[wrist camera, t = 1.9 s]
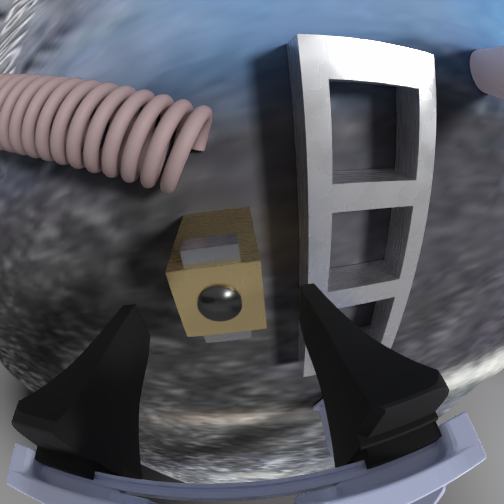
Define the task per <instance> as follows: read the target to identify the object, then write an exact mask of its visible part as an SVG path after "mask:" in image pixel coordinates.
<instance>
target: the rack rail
mask: <svg viewBox="0 0 504 504" xmlns="http://www.w3.org/2000/svg"><path fill="white" fill-rule="evenodd" d="M286 45H287V54H288V64H289V74H290V84H291V95H292V108H293V121H294V135H295V152H296V170H297V193H298V225H299V297H300V285H305V284H312V283H314V284H315V285H316V286H317V287H318V288H319V289H320V290H321V291H322V292H323V294H324V295H325V296H326V297H327V298H328V299H329V300H330V301H331V302H332V303H333V304H334V305H335V306H336V307H337V308H343V307H348V306H353V305H359V304H364V303H368V302H373V301H376V303H375V307H374V311H373V316H372V320H371V324H370V325H368V326H363V327H359V328H360V329H362V330H363V331H364V332H366V333H367V334H368V335H370V336H371V337H372V338H374V339H375V340H377V341H378V342H380V343H381V344H383V345H385V346H386V347H388V348H390V349H391V346H392V344H393V341H394V338H395V336H396V333H397V330H398V327H399V324H400V321H401V318H402V315H403V312H404V309H405V306H406V303H407V299H408V296H409V293H410V289H411V286H412V282H413V278H414V274H415V271H416V267H417V263H418V258H419V254H420V250H421V245H422V240H423V235H424V230H425V225H426V219H427V214H428V207H429V201H430V194H431V186H432V178H433V168H434V156H435V141H436V80H435V65H434V55H433V54H429V53H426V52H422V51H418V50H414V49H410V48H406V47H402V46H397V45H392V44H387V43H382V42H376V41H370V40H363V39H356V38H348V37H338V36H326V35H307V34H297V35H296V36H294V37H293V38H292V39H291V40H290V41H289V42H288V43H286ZM329 82H348V83H362V84H373V85H383V86H391V87H396V160H395V169H358V170H337V171H332V131H331V109H330V92H329ZM391 207H392V209H391V217H390V225H389V232H388V239H387V246H386V252H385V258H384V260H379V261H373V262H367V263H360V264H354V265H347V266H341V267H334V268H329V266H330V248H331V225H332V213H336V212H347V211H357V210H368V209H379V208H391ZM298 357H299V361H300V365H301V369H302V373H303V377H306V376H312V375H316V372H315V370H314V367H313V364H312V361H311V359H310V356H309V353H308V350H307V347H306V345H305V342H304V339H303V334H302V330H301V325H300V321H299V338H298Z"/></svg>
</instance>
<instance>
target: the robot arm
mask: <svg viewBox="0 0 504 504" xmlns="http://www.w3.org/2000/svg"><path fill="white" fill-rule="evenodd" d="M299 321H300V325H301V330H302V334H303V339H304V342H305V345H306V347H307V350H308V353H309V356H310V359H311V361H312V364H313V367H314V370H315V372H316V375H317V378H318V381H319V384H320V388H321V392H322V396H323V399H322V400H321V401H320V402H318V403H317V404H316V405H315V406H314V407H313V410H314V411H319V414H320V418H321V422H322V425H323V429H324V433H325V437H326V442H327V446H328V449H329V451H330V453H331V455H332V456H333V457H334V462H335V468H333V469H329V470H324V471H320V472H315V473H310V474H305V475H300V476H294V477H288V478H281V479H274V480H266V481H256V482H244V483H225V484H190V483H170V482H158V481H149V480H141V479H142V478H143V477H142V471H141V463H140V454H139V403H140V396H141V390H142V385H143V380H144V375H145V370H146V365H147V360H148V355H149V343H150V335H149V333H148V331H147V328H146V326H145V324H144V322H143V320H142V318H141V316H140V313H139V311H138V309H137V307H136V304H134V305H124V306H123V307H122V308H121V309H120V310H119V311H118V312H117V313H116V315H115V316H114V317H113V318H112V319H111V321H110V322H109V323H108V324H107V325H106V327H105V328H104V329H103V330H102V331H101V333H100V334H99V335H98V336H97V337H96V339H95V340H94V341H93V342H92V343H91V344H90V345H89V346H88V348H87V349H86V350H85V351H84V352H83V353H82V354H81V355H80V356H79V357H78V358H77V359H76V360H75V361H74V362H73V363H72V364H71V365H70V366H69V367H68V368H67V369H65V370H64V371H63V372H62V373H60V374H59V375H58V376H57V377H56V378H54V379H53V380H52V381H50V382H49V383H48V384H46V385H45V386H43V387H42V388H40V389H39V390H37V391H36V392H34V393H32V394H31V395H29V396H27V397H25V398H24V399H22V400H20V401H19V402H18V405H17V407H16V410H15V413H14V416H13V419H12V425H13V427H14V428H15V429H16V430H17V431H18V432H20V433H21V434H22V435H23V436H25V437H26V438H27V439H29V440H30V441H32V442H33V443H34V444H36V445H37V446H38V447H37V451H36V450H34V449H32V448H30V447H28V446H25V445H23V444H20V443H18V442H16V443H15V446H14V450H13V454H12V458H11V463H10V468H9V472H8V476H7V482H6V483H7V484H8V485H9V486H11V487H13V488H15V489H16V490H18V491H20V492H22V493H23V494H26V495H27V496H29V497H31V498H33V499H35V500H37V501H39V502H41V503H43V504H157V503H154V502H151V501H149V500H147V499H145V498H140V497H135V496H131V495H127V494H132V495H138V496H145V497H152V498H161V499H171V500H185V501H242V500H255V499H265V498H274V497H282V496H289V495H295V494H301V493H306V492H310V493H306V494H302V495H298V496H296V497H295V498H294V500H295V503H294V504H436V503H437V502H438V501H439V499H440V498H441V496H442V495H443V494H444V492H445V490H446V487H445V486H446V485H447V484H448V483H450V482H452V481H453V480H455V479H457V478H458V477H460V476H461V475H463V474H464V473H466V472H468V471H469V470H471V469H472V468H473V467H475V466H476V465H478V464H479V463H481V462H482V461H484V460H485V459H486V457H487V456H486V454H485V451H484V449H483V447H482V444H481V442H480V440H479V438H478V436H477V433H476V431H475V429H474V427H473V425H472V423H471V421H470V418H469V417H468V414H467V412H463V413H461V414H459V415H457V416H455V417H454V418H452V419H450V420H448V421H446V422H444V423H443V424H441V425H440V426H437V424H436V421H437V420H438V416H437V414H436V412H435V411H436V410H437V409H438V407H439V406H440V405H441V404H442V403H443V401H444V400H445V399H446V397H447V396H448V393H449V389H448V387H447V385H446V383H445V381H444V379H443V377H442V376H441V374H440V373H439V371H438V370H436V369H433V368H431V367H428V366H425V365H423V364H420V363H417V362H415V361H413V360H411V359H409V358H407V357H404V356H402V355H400V354H399V353H397V352H395V351H393V350H392V349H390V348H388V347H386V346H385V345H383V344H381V343H380V342H378V341H377V340H375V339H374V338H372V337H371V336H370V335H368V334H367V333H366V332H364V331H363V330H362V329H360V328H359V327H358V326H357V325H356V324H354V323H353V322H352V321H351V320H350V319H349V318H348V317H346V316H345V315H344V314H343V313H342V312H341V311H340V310H339V309H338V308H337V307H336V306H335V305H334V304H333V303H332V302H331V301H330V300H329V299H328V298H327V297H326V296H325V295H324V294H323V292H322V291H321V290H320V289H319V288H318V287H317V286H316V285H315V284H314V283H312V284H305V285H300V297H299ZM316 490H317V491H316ZM311 491H313V492H311Z"/></svg>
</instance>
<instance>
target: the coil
mask: <svg viewBox="0 0 504 504" xmlns="http://www.w3.org/2000/svg"><path fill="white" fill-rule="evenodd" d="M124 101H125V102H124ZM141 106H142V107H143V109H142V111H141V112H140V107H141ZM95 107H96V112H95V114H94V109H95ZM54 114H55V116H54ZM93 114H94V115H93ZM159 114H160V122H159V123H158V125H157V127H156V129H155V125H156V119H157V117H158V116H159ZM53 117H54V120H53ZM109 119H110V122H109V127H108V131H107V135H106V138H105V141H104V144H103V146H102V148H101V150H100V152H99V148H100V144H101V141H102V139H103V136H104V132H105V129H106V125H107V123H108V121H109ZM52 120H53V124H52V127H51V129H50V126H51V123H52ZM211 122H212V111H211V109H210V108H209V107H208V106H206V105H201V106H198V107H197V108H195V109H194V110H193V106H192V104H191V103H190V102H189V101H188V100H185V99H182V100H178V101H176V102H175V103H174V101H173V99H172V98H171V97H170V96H169V95H166V94H161V95H157V96H156V97H155V96H154V94H153V93H152V92H151V91H148V90H140V91H136V90H135V89H134V88H132V87H130V86H122V87H118V86H117V85H116V84H113V83H109V82H108V83H103V84H102V83H101V82H99V81H96V80H88V81H86V80H84V79H81V78H72V79H71V78H69V77H65V76H60V77H56V76H53V75H46V76H44V75H40V74H34V75H31V74H17V73H14V74H8V73H4V74H0V150H6V151H8V152H11V153H15V152H16V153H18V154H20V155H29V156H30V157H32V158H40V157H41V158H42V159H43V160H45V161H53V160H55V162H56V163H58V164H60V165H66V164H70V165H71V166H72V167H73V168H76V169H81V168H84V167H86V169H87V170H88V171H89V172H91V173H98V172H100V171H103V173H104V174H105V175H106V176H107V177H109V178H113V177H116V176H118V175H119V174H120V173H121V177H122V179H123V180H124V181H125V182H127V183H131V182H134V181H135V180H136V179H138V177H139V176H140V181H141V184H142V185H143V187H145V188H152V187H153V186H154V185H155V184H156V182H157V180H158V178H159V175H160V172H161V170H162V167H163V164H164V160H165V157H166V154H167V150H168V146H169V143H170V139H171V137H172V135H173V133H174V131H175V129H176V127H177V130H176V134H175V139H174V143H173V147H172V150H171V152H170V155H169V157H168V160H167V162H166V165H165V168H164V171H163V174H162V178H161V182H160V189H161V190H162V192H163V193H166V194H170V193H172V192H173V191H174V190H175V188H176V185H177V183H178V180H179V178H180V175H181V172H182V170H183V167H184V165H185V163H186V160H187V158H188V155H189V153H190V151H191V149H194V150H199V151H204V150H205V147H206V143H207V139H208V135H209V131H210V127H211ZM154 130H155V131H154ZM83 147H84V148H83ZM82 148H83V152H82V153H81V150H82Z"/></svg>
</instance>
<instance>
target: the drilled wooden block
mask: <svg viewBox="0 0 504 504" xmlns="http://www.w3.org/2000/svg"><path fill="white" fill-rule="evenodd" d="M165 273H166V276H167V279H168V282H169V285H170V288H171V292H172V295H173V297H174V300H175V303H176V306H177V309H178V312H179V315H180V318H181V320H182V323H183V326H184V329H185V331H186V334H187V337H192V336H204V337H205V340H206V343H210V342H221V341H230V340H239V339H248V338H252V334H251V330H258V329H266V328H267V325H266V315H265V304H264V293H263V283H262V272H261V262H260V256H259V252H258V247H257V242H256V237H255V232H254V227H253V222H252V217H251V212H250V207H241V208H233V209H226V210H218V211H211V212H204V213H197V214H190V215H183V218H182V221H181V224H180V227H179V230H178V233H177V236H176V239H175V242H174V246H173V249H172V252H171V255H170V259H169V262H168V265H167V269H166V272H165Z"/></svg>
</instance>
